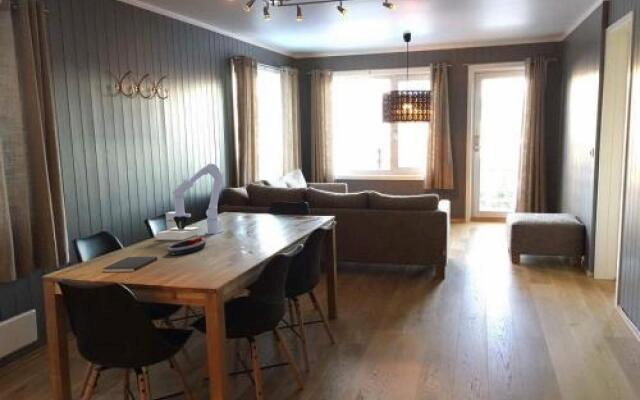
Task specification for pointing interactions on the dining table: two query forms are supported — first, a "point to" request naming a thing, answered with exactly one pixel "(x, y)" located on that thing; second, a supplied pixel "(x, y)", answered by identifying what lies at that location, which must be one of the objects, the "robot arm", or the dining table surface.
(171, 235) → the carton
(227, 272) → the dining table surface
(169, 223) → the supplement box
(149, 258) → the hardcover book
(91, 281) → the dining table surface
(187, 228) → the flap
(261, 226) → the dining table surface
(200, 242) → the dish
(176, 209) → the robot arm
